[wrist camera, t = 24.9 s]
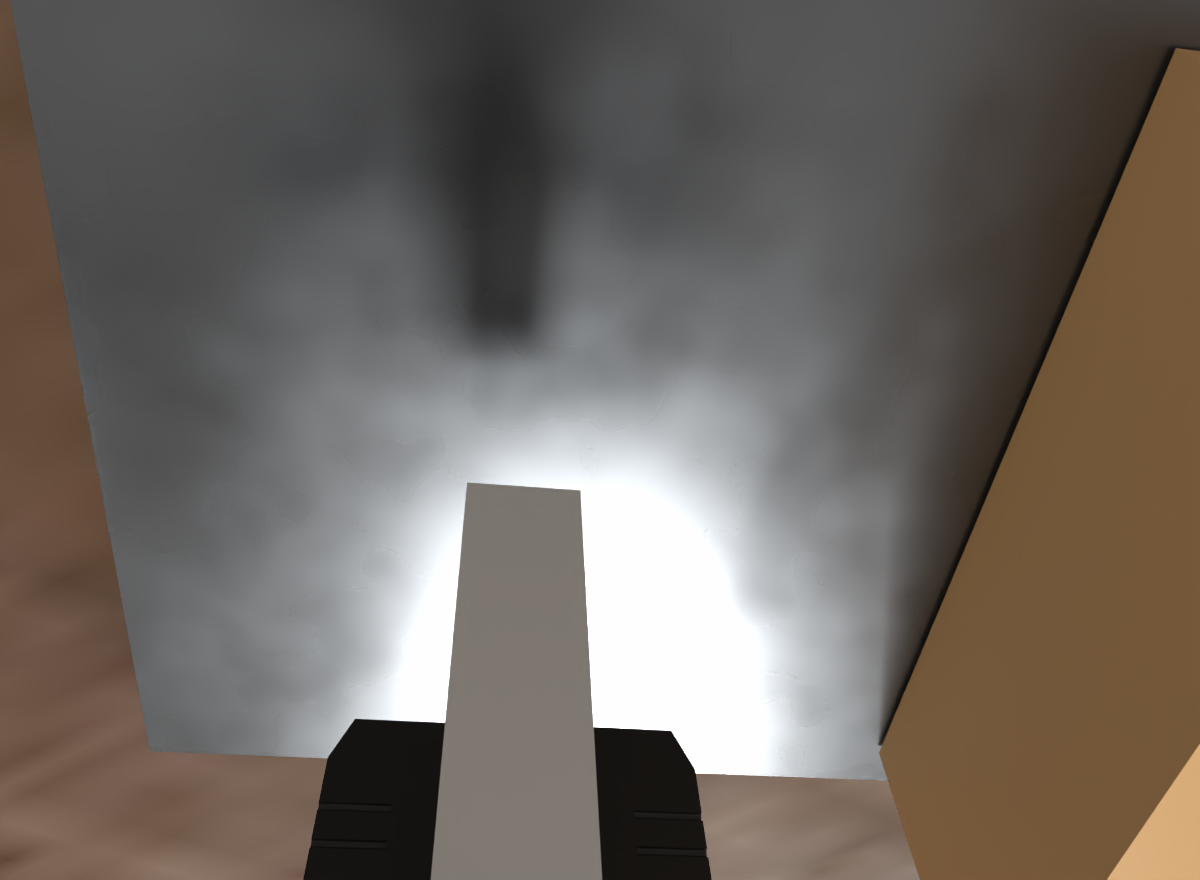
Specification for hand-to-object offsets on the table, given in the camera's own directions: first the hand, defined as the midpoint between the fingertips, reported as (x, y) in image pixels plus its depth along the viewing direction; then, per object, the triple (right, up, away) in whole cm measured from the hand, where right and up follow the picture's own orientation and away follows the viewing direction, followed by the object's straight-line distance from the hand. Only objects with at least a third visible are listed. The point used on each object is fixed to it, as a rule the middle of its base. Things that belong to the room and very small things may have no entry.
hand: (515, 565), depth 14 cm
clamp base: (+6, +2, +4) cm, 7 cm away
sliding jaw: (+9, +1, +3) cm, 9 cm away
